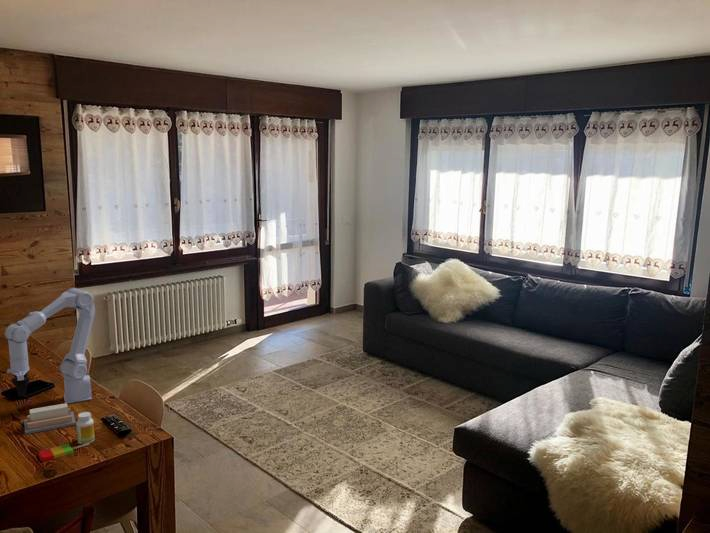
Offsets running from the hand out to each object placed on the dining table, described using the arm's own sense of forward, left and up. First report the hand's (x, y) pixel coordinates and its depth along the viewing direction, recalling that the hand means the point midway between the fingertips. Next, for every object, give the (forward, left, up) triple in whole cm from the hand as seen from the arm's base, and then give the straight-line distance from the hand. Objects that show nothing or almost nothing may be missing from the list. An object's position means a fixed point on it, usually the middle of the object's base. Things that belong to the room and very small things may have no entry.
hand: (22, 392), depth 214 cm
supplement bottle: (-18, +30, -10) cm, 36 cm away
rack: (-8, +11, -9) cm, 17 cm away
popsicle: (-11, +35, -10) cm, 38 cm away
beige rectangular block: (-8, +11, -8) cm, 16 cm away
